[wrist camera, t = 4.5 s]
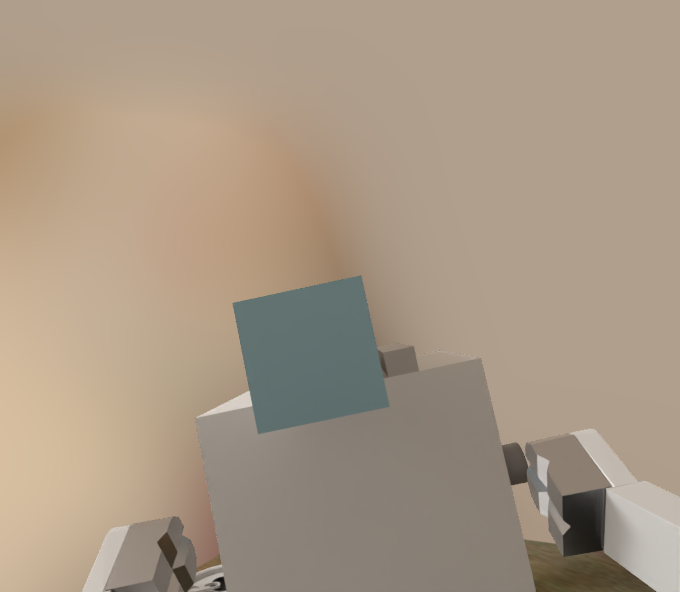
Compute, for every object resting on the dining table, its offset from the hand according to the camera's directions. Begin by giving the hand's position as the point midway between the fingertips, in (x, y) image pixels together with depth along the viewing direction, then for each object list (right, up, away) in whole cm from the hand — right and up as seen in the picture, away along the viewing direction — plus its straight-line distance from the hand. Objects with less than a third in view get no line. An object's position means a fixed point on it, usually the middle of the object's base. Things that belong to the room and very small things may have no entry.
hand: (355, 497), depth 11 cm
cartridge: (0, 0, +14) cm, 14 cm away
